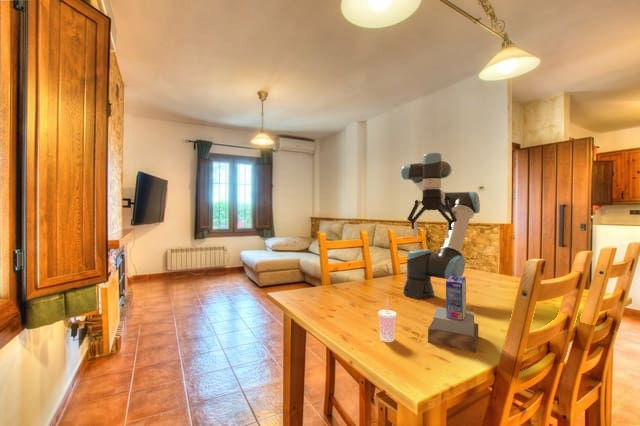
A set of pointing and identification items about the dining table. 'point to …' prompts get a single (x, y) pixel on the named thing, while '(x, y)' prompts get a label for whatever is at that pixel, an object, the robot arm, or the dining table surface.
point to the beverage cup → (387, 324)
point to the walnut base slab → (454, 339)
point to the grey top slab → (453, 323)
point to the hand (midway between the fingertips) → (431, 237)
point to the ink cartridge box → (456, 297)
